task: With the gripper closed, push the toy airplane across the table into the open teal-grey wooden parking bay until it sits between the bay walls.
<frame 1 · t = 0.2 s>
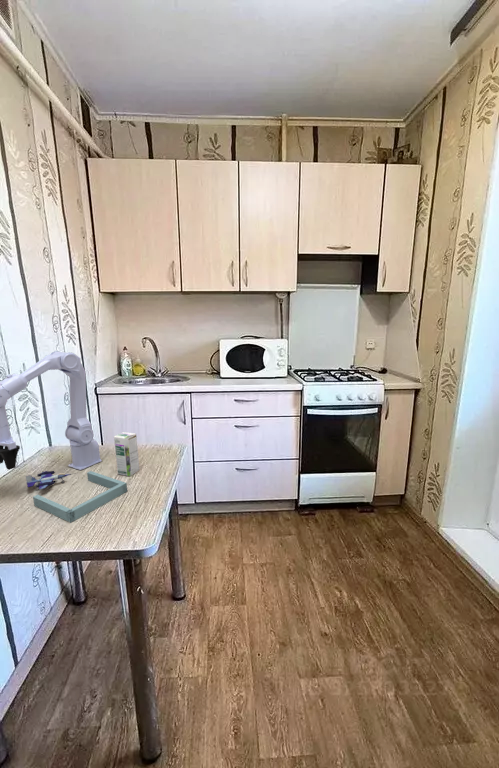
hand: (5, 466, 117), 10 cm above the table, tool pointing down, fingers open, 7 cm apart
syrup box: (128, 472, 132), on the table
toy airplane: (50, 486, 124), on the table
bay: (80, 497, 115), on the table
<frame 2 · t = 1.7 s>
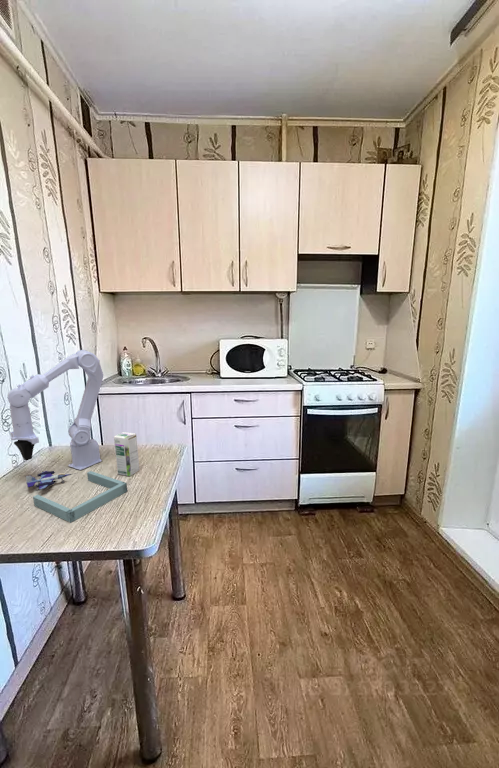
hand: (28, 459, 128), 7 cm above the table, tool pointing down, fingers closed
nothing on the table moved.
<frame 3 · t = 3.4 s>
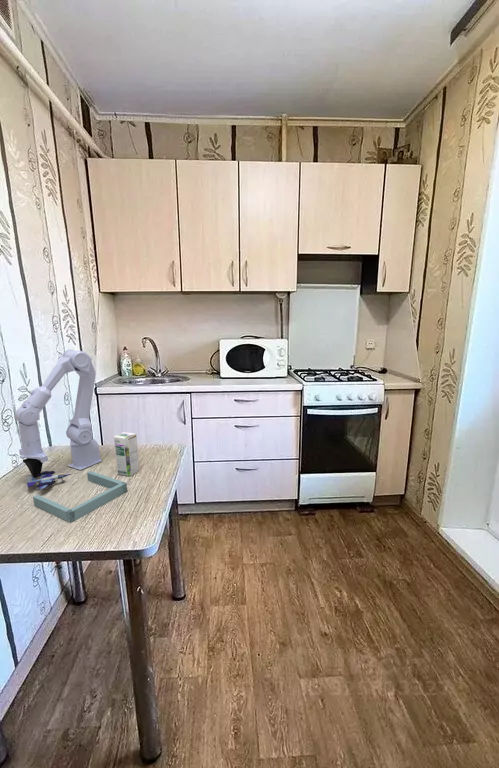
hand: (36, 476, 128), 1 cm above the table, tool pointing down, fingers closed
toy airplane: (50, 486, 124), on the table, touching gripper
everything else where it was.
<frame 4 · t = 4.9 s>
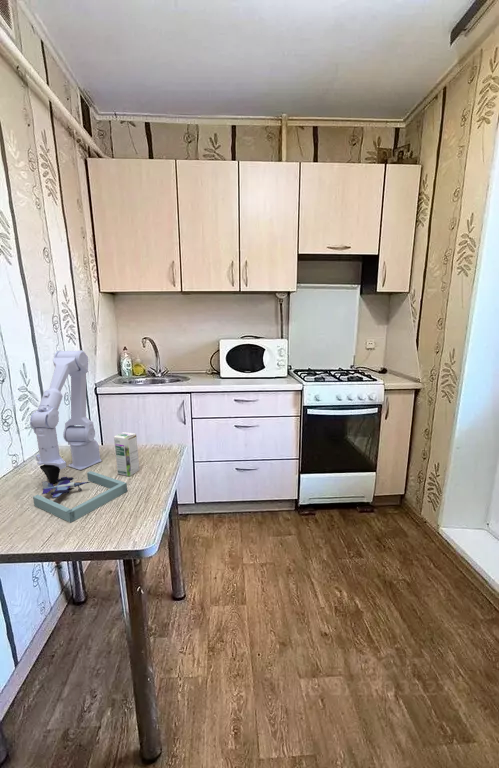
hand: (54, 483, 122), 1 cm above the table, tool pointing down, fingers closed
toy airplane: (67, 493, 118), on the table, touching gripper
everything else where it was.
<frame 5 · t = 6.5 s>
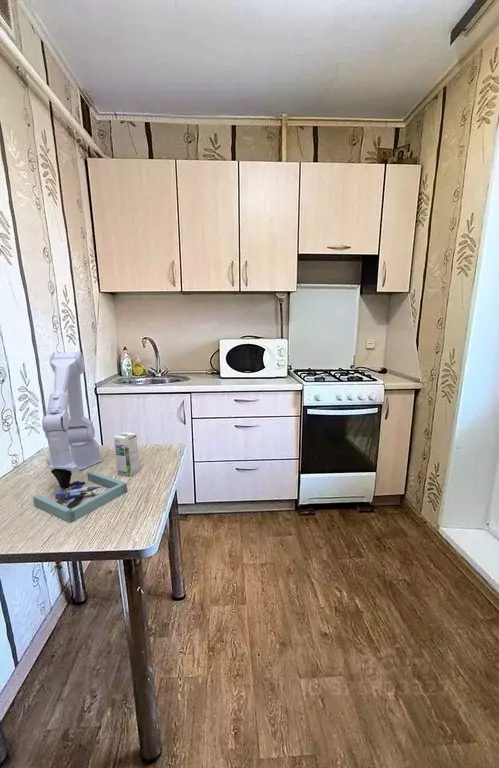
hand: (65, 488, 119), 1 cm above the table, tool pointing down, fingers closed
toy airplane: (79, 498, 115), on the table, touching gripper
everything else where it was.
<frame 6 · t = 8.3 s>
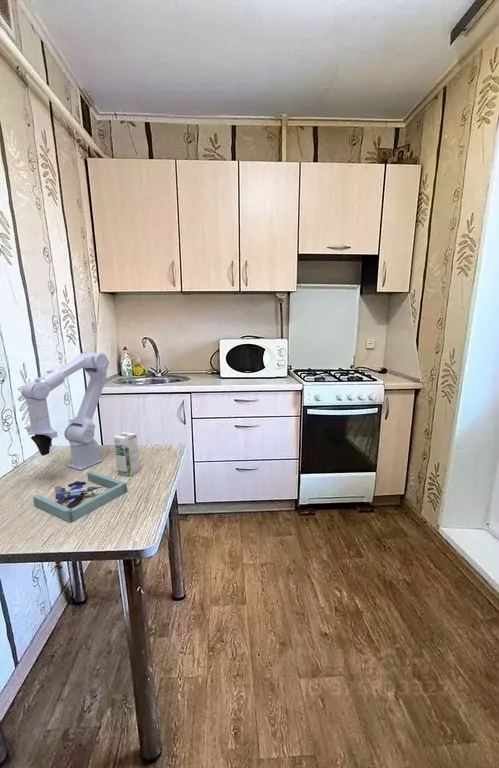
hand: (45, 454, 125), 10 cm above the table, tool pointing down, fingers closed
toy airplane: (80, 498, 115), on the table
everything else where it was.
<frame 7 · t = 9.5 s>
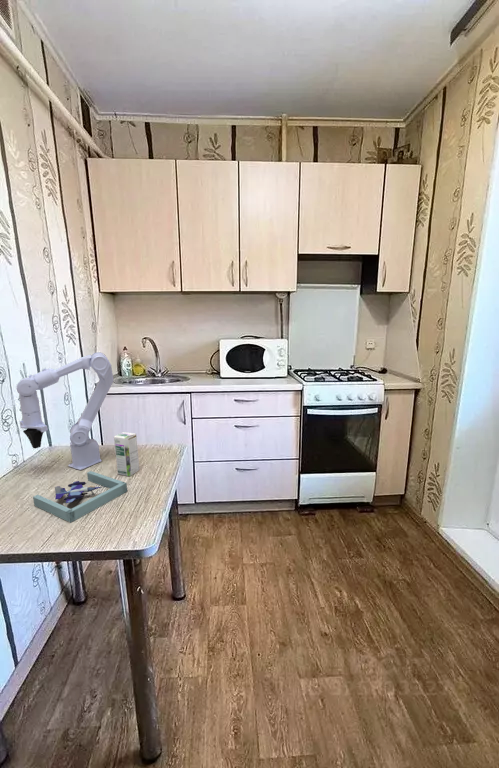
hand: (36, 447, 132), 10 cm above the table, tool pointing down, fingers closed
nothing on the table moved.
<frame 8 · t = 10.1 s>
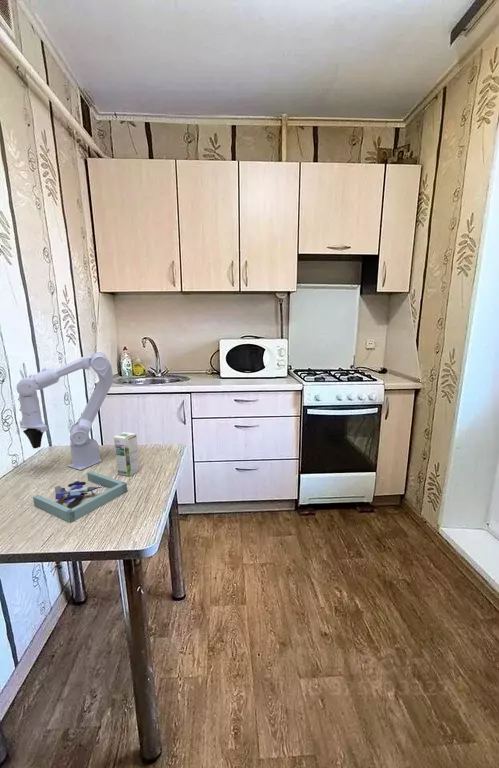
hand: (36, 447, 132), 10 cm above the table, tool pointing down, fingers closed
nothing on the table moved.
at the end: toy airplane inside the target area on the bay (0.5 cm from its centre), point 0.0 cm above the bay's base; toy airplane moved 16.8 cm from its start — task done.
